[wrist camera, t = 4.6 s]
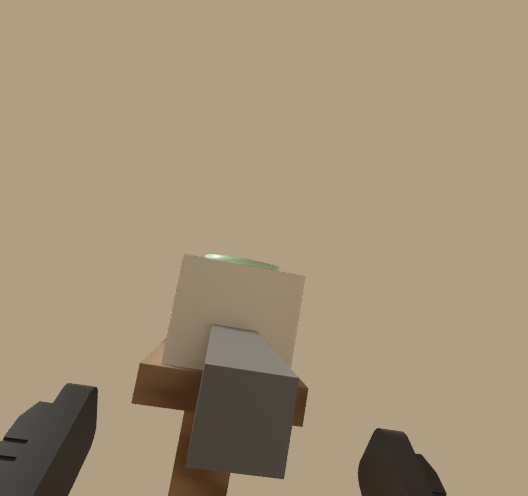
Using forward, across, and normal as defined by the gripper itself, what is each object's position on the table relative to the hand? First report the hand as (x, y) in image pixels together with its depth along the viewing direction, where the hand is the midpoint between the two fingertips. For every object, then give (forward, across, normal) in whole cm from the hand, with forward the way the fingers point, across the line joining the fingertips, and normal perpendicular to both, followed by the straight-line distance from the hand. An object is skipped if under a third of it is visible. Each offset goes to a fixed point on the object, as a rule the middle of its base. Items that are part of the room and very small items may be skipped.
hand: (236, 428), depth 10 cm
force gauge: (+7, 0, +5) cm, 8 cm away
